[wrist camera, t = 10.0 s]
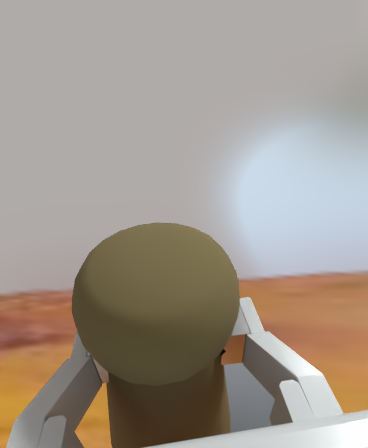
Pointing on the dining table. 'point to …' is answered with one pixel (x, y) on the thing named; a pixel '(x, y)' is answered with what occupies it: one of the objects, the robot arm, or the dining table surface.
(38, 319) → the dining table surface
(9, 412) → the dining table surface
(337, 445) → the robot arm
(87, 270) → the olive pawn
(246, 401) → the charcoal mat
